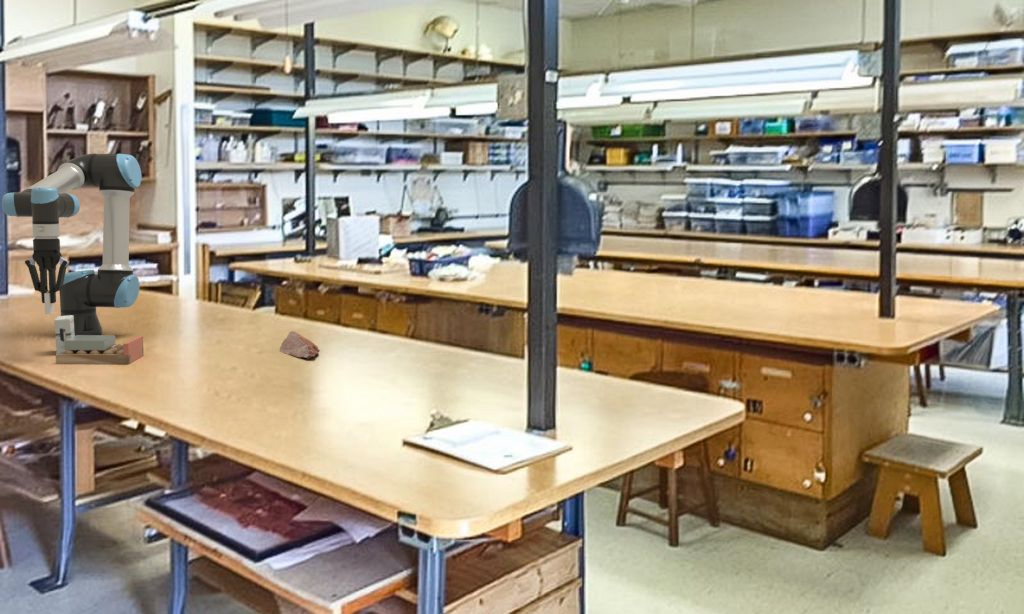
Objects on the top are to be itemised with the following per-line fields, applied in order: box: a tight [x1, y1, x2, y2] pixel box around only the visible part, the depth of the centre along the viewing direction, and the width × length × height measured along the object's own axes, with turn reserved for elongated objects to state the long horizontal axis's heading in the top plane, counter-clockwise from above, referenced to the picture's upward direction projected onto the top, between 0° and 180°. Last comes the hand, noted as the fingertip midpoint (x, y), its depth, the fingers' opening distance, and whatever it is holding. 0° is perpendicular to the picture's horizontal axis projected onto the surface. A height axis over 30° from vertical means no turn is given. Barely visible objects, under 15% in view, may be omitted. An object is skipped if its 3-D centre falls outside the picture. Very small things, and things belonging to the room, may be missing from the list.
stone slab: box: [64, 334, 117, 350], centre depth 312 cm, size 10×12×3 cm
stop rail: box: [122, 335, 144, 365], centre depth 313 cm, size 14×2×6 cm, turn 3°
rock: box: [279, 330, 320, 359], centre depth 328 cm, size 10×24×10 cm
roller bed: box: [55, 343, 145, 365], centre depth 313 cm, size 14×22×4 cm, turn 93°
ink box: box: [54, 315, 75, 354], centre depth 322 cm, size 8×5×12 cm, turn 17°
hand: (49, 313), depth 310 cm, fingers closed
